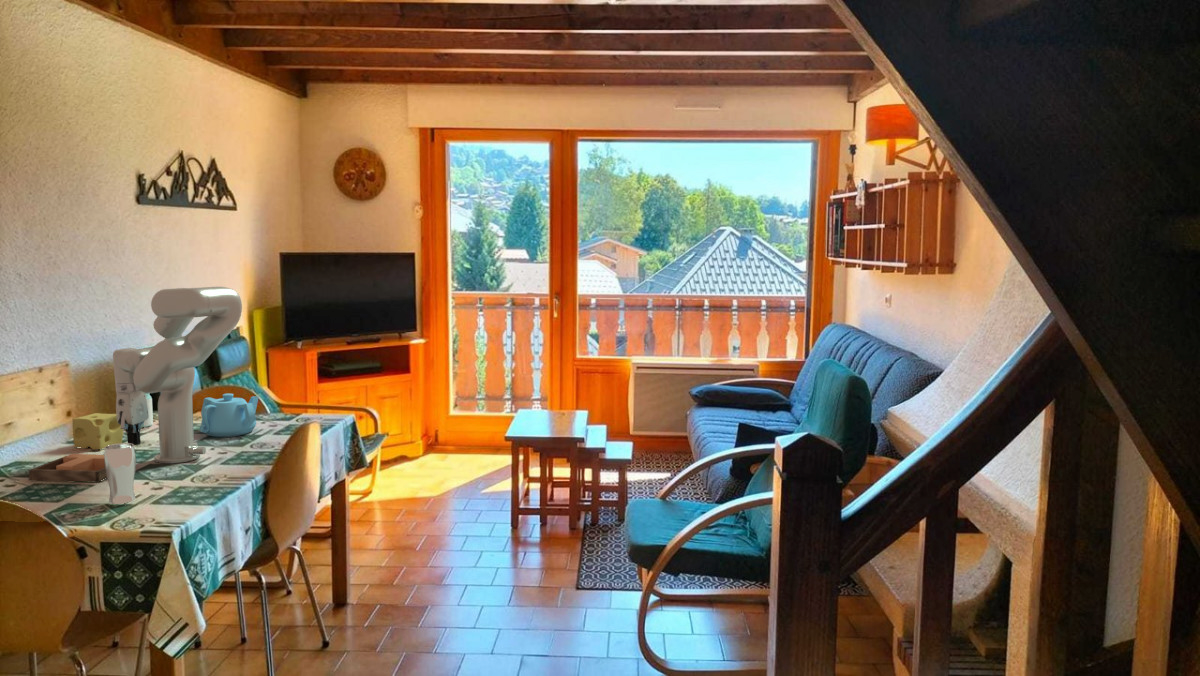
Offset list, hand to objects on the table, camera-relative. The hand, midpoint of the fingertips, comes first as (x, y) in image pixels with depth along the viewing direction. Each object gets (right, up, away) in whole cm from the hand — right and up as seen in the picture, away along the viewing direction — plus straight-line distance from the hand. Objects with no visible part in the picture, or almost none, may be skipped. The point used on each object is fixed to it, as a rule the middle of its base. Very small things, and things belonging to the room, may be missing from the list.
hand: (134, 444), depth 261 cm
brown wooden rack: (-2, -5, -23) cm, 24 cm away
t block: (-2, -6, -23) cm, 24 cm away
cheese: (-17, -2, +9) cm, 19 cm away
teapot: (+17, 0, +31) cm, 35 cm away
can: (-18, +2, +37) cm, 41 cm away
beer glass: (+24, -9, -49) cm, 55 cm away
